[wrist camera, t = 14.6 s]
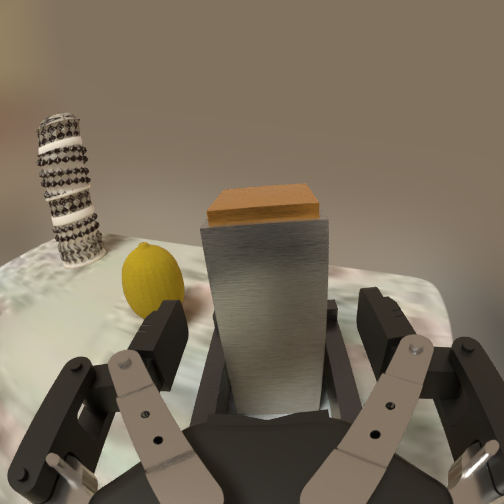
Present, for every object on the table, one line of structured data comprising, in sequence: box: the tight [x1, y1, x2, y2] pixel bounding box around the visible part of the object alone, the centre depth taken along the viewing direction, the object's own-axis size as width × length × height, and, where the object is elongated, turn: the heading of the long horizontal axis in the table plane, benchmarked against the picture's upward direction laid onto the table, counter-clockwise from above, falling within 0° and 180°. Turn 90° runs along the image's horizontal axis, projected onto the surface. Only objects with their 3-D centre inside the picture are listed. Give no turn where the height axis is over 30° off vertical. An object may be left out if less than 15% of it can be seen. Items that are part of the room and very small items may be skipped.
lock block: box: [200, 184, 329, 415], centre depth 16 cm, size 5×5×13 cm
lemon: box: [122, 242, 184, 319], centre depth 25 cm, size 6×6×8 cm
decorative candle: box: [36, 113, 106, 269], centre depth 40 cm, size 9×9×25 cm
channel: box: [189, 300, 362, 427], centre depth 17 cm, size 11×9×4 cm
